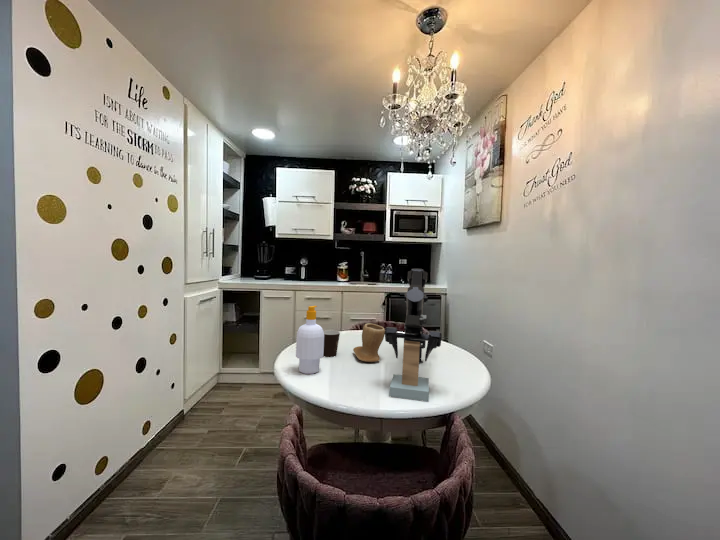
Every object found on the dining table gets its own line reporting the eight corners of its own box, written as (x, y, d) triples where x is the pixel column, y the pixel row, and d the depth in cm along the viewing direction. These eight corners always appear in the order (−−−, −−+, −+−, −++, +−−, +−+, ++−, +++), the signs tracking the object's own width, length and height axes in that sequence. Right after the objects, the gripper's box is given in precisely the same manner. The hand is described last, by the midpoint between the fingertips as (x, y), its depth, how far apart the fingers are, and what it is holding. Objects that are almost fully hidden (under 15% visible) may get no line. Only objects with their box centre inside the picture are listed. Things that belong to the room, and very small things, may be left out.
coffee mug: (331, 359, 137) (332, 335, 137) (315, 355, 141) (316, 332, 141) (346, 352, 147) (347, 330, 147) (330, 349, 152) (331, 328, 151)
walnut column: (403, 378, 110) (404, 340, 109) (418, 380, 109) (419, 341, 108) (401, 384, 105) (403, 344, 104) (417, 386, 104) (419, 345, 103)
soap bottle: (327, 369, 125) (330, 306, 124) (313, 377, 115) (316, 309, 114) (305, 364, 129) (307, 303, 128) (289, 372, 119) (291, 306, 119)
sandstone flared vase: (386, 364, 134) (388, 327, 134) (358, 364, 132) (359, 327, 132) (378, 353, 149) (379, 320, 149) (352, 353, 147) (353, 320, 147)
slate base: (393, 382, 114) (393, 374, 114) (428, 386, 112) (428, 378, 111) (389, 396, 102) (389, 387, 102) (428, 401, 100) (428, 391, 100)
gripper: (386, 303, 112) (380, 343, 101) (442, 307, 108) (442, 349, 97) (388, 322, 120) (382, 360, 109) (440, 326, 116) (440, 367, 105)
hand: (411, 359), depth 105 cm, fingers open, 9 cm apart
